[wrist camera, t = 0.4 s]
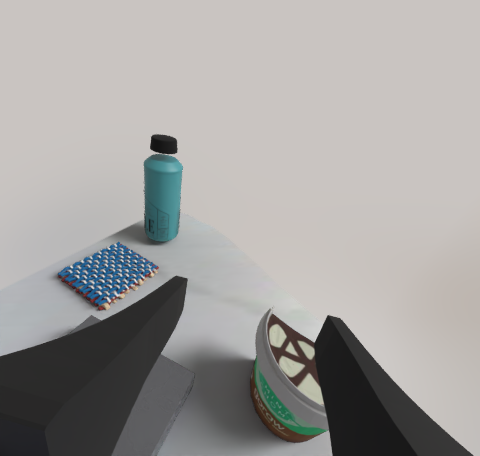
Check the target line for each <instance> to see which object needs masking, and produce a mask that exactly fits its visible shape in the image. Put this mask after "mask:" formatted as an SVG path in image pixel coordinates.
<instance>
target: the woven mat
mask: <svg viewBox="0 0 480 456" xmlns="http://www.w3.org/2000/svg"><path fill="white" fill-rule="evenodd" d="M119 244H120V242H118V243H117V244H112V245H111V246H110V247H106V248H107V249H103V250H102V249H101V250H100V251H101V252H99V251H98V252H97V253H95V254H94V255H93V256H92V257H91V256H89V257H86V258H85V259H84V260H80V261H81V262H76V263H75V264H73V265H72V266H69V267H66V268H64V269H63V270H62V271H61V272H60V273H58V277H59V278H60V277H63V279H62V280H61V281H63V282H64V281H65V280H66V281H65V283H68V284H69V286H71V285H72V288H77V289H76V292H79V293H80V294H82V293H83V294H84V295H83V296H84V297H87V299H88V300H90V299H91V300H90V302H91V303H93V302H94V303H95V304H94V305H95V306H97V305H99V306H100V307H99V308H98V309H99V310H103V309H106V310H107V309H109V308H110V303H111V302H112V303H116V302H117V301H116V300H115V299H116V298H117V297H118V298H120V299H123V298H124V297H125V294H123V293H124V292H125V293H126V294H128V293H129V292H130V291H129V289H130V288H132V289H133V290H136V289H138V287H136V286H135V285H138V284H139V285H142V284H143V280H144V281H146V280H147V278H146V277H147V276H149V277H153V276H154V273H157V272H158V271H157V269H158V268H159V267H158V266H156V265H154V264H153V263H152V262H150V261H148V260H147V259H146V258H144V259H143V257H141V256H140V255H139V254H137V253H135V252H133V250H131V251H130V249H128V248H127V247H126V246H124V245H122V244H120V245H119ZM123 246H124V247H123ZM121 247H122V248H121ZM106 251H107V252H106ZM118 264H119V265H118ZM153 272H154V273H153ZM73 276H74V277H73Z"/></svg>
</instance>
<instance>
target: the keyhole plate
mask: <svg viewBox="0 0 480 456" xmlns="http://www.w3.org/2000/svg"><path fill="white" fill-rule="evenodd" d="M100 321H101V320H99V319H97V318H96V317H94V316H92V315H91V316H90V317H89V318H87V319H86V320H85V321H84V322H83V323H81V324H80V325H79V326H78V327H77V328H75V329H74V330H73V331H72V332H71V333H69V334H72V333H74V332H77V331H79V330H81V329H84V328H86V327H88V326H91V325H93V324H96V323H98V322H100ZM69 334H68V335H69ZM194 376H195V373H193V372H191V371H189V370H188V369H186V368H184V367H182V366H181V365H179V364H177V363H175V362H174V361H172V360H170V359H168V358H166V357H165V356H163V355H161V354H160V356H159V357H158V359H157V361H156V363H155V364H154V366H153V368H152V369H151V371H150V373H149V375H148V377H147V379H146V381H145V383H144V385H143V387H142V389H141V391H140V393H139V396H138V398H137V400H136V402H135V404H134V406H133V408H132V411H131V413H130V415H129V417H128V420H127V422H126V424H125V426H124V428H123V431H122V433H121V435H120V437H119V440H118V442H117V444H116V446H115V449H114V451H113V453H112V456H156V455H157V453H158V452H159V450H160V448H161V446H162V444H163V442H164V440H165V438H166V436H167V434H168V432H169V430H170V429H171V427H172V425H173V423H174V421H175V419H176V417H177V415H178V413H179V411H180V409H181V407H182V406H183V404H184V402H185V400H186V398H187V396H188V394H189V392H190V390H191V388H192V386H193V381H194Z"/></svg>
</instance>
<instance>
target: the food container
mask: <svg viewBox="0 0 480 456" xmlns="http://www.w3.org/2000/svg"><path fill="white" fill-rule="evenodd" d="M273 309H274V306H273V308H272V309H269V310H268V311H267V312H266V314H265V315H264V316H263V318H262V319H261V321H260V323H259V325H258V328H257V333H256V343H255V344H256V354H257V355H256V359H255V363H254V367H253V371H252V375H251V379H250V389H251V398H252V401H253V404H254V407H255V410H256V412H257V414H258V416H259V417H260V419H261V421H262V422H263V423H264V425H265V426H266V427H267V428H268V429H269V430H270V431H271V432H272V433H273V434H275V435H276V436H278V437H279V438H281V439H284V440H286V441H289V442H304V441H308V440H310V439H312V438H314V437H316V436H318V435H320V434H322V433H324V432H326V431H328V430H329V426H328V421H327V416H326V411H325V407H324V402H323V398H322V393H321V388H320V384H319V379H318V374H317V369H316V363H315V352H314V342H312V341H311V340H309V339H308V338H306V337H304V336H303V335H301V334H299V333H298V332H296V331H295V330H293V329H292V328H291V327H289V326H288V325H287V324H285V323H284V322H283V321H281V320H280V319H279V318H278V317H276V316H275V315H274V314H272V313H273Z"/></svg>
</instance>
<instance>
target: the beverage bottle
mask: <svg viewBox="0 0 480 456" xmlns="http://www.w3.org/2000/svg"><path fill="white" fill-rule="evenodd" d="M150 149H151V150H153V151H155V152H158V153H162V154H175V153H177V140H176V139H175V138H173V137H170V136H167V135H153V136H152V137H151V145H150ZM162 154H155V155H152V156H150V157H149V158H147V159H146V160H145V161H144V175H145V177H144V178H145V191H144V192H145V214H144V215H145V220H144V221H145V224H144V226H145V231H146V234H147V236H148V237H149V238H151V239H153V240H156V241H169V240H172V239H174V238H175V237H176V236H177V234H178V228H179V222H180V221H179V219H180V218H179V217H180V198H181V197H180V194H181V180H182V170H183V166H182V164H181V163H180V162H179V161H178V160H177V159H176V158H175V157H172V156H169V155H162Z"/></svg>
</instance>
